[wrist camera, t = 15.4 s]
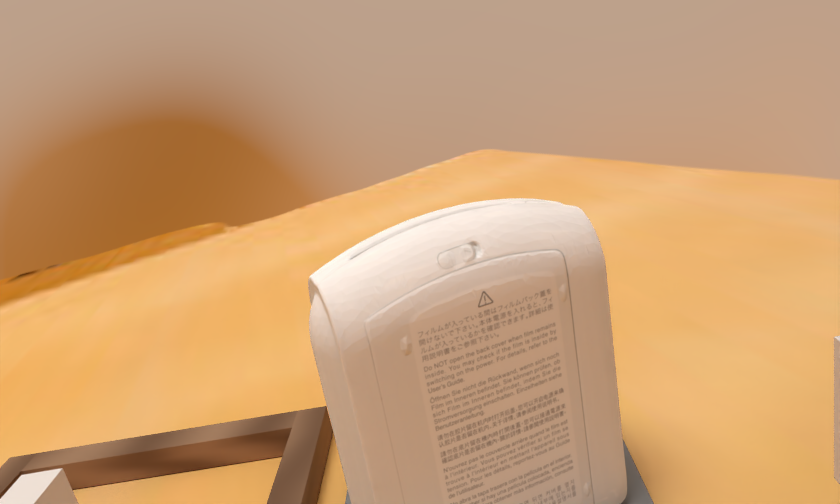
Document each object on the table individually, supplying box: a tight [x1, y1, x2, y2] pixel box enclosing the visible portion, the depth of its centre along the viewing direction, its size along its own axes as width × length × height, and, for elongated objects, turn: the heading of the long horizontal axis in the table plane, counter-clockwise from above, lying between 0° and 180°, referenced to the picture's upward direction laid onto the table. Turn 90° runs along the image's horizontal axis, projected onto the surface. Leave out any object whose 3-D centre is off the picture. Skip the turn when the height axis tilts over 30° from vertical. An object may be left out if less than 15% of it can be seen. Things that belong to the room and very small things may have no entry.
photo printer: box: [308, 198, 627, 504], centre depth 23 cm, size 10×4×12 cm, turn 113°
